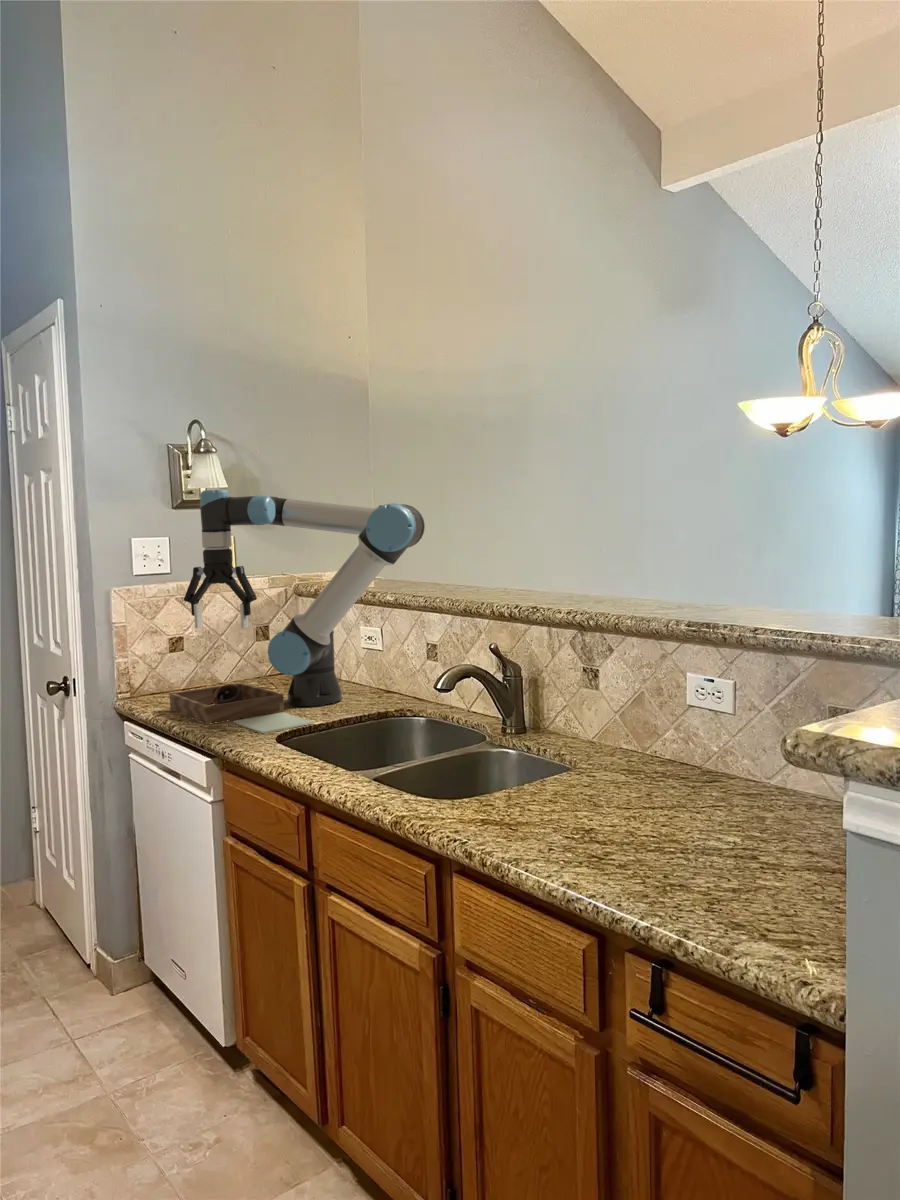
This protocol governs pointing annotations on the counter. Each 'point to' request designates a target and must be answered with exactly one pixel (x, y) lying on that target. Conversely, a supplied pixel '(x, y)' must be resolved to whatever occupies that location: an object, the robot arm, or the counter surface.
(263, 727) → the cutting board
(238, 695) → the pottery mug
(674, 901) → the counter surface
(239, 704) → the walnut crate
